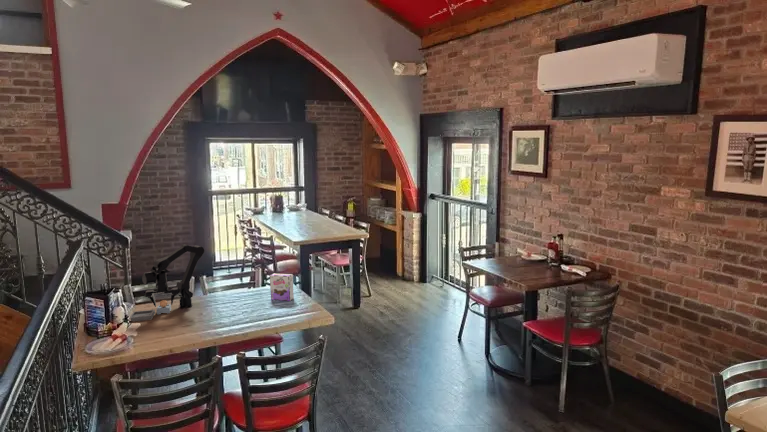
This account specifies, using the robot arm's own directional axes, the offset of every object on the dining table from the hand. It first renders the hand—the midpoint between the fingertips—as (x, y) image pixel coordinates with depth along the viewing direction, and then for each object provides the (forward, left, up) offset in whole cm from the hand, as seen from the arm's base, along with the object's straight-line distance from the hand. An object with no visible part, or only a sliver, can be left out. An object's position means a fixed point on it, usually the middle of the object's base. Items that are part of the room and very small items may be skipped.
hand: (163, 305), depth 320 cm
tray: (+11, +7, -4) cm, 14 cm away
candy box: (-71, -2, -4) cm, 71 cm away
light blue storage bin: (0, 0, -4) cm, 4 cm away
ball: (0, 0, +1) cm, 1 cm away
